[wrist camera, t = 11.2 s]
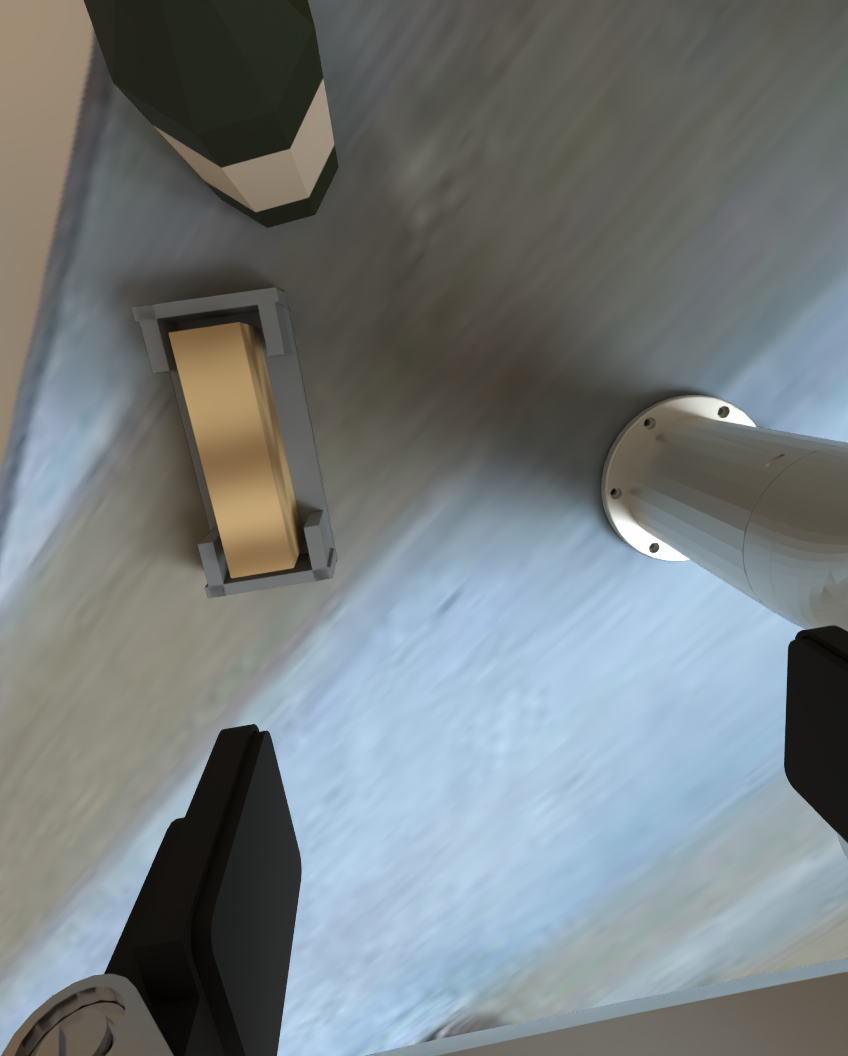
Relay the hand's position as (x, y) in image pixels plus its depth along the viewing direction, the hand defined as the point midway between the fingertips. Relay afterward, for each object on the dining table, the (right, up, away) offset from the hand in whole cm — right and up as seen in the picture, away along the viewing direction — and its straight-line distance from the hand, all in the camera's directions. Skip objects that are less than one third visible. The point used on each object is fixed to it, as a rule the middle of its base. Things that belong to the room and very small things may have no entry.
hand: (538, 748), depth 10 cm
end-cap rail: (-14, +10, +32) cm, 36 cm away
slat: (-14, +10, +31) cm, 36 cm away
